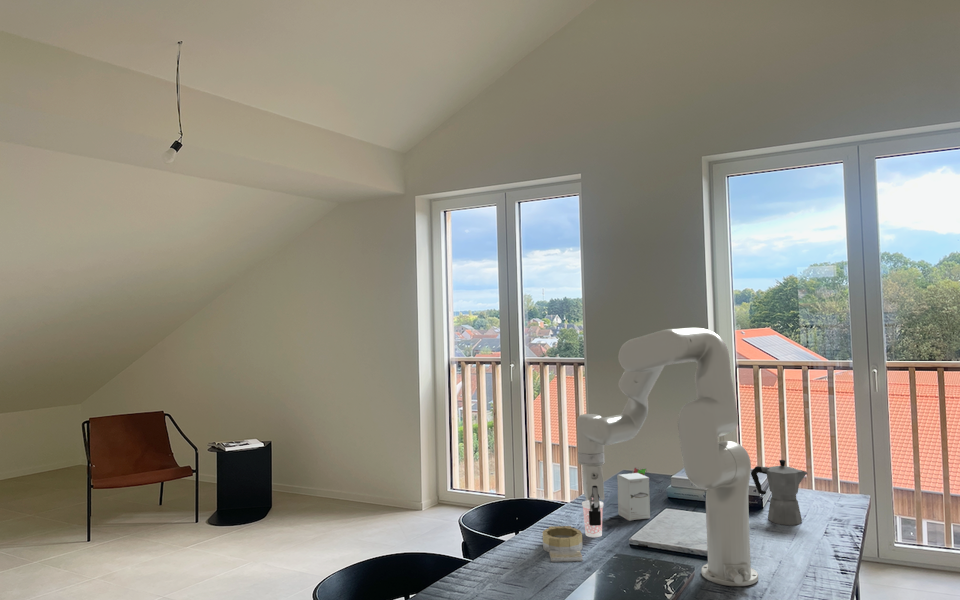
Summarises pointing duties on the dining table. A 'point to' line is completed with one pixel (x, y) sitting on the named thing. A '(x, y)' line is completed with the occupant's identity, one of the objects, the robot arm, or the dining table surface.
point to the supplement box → (633, 496)
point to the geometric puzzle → (640, 471)
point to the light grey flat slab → (564, 551)
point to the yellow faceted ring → (562, 542)
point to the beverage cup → (589, 530)
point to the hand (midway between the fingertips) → (593, 520)
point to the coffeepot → (781, 492)
